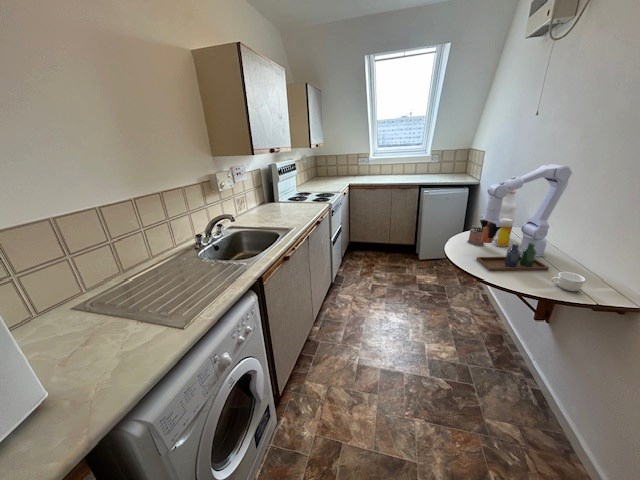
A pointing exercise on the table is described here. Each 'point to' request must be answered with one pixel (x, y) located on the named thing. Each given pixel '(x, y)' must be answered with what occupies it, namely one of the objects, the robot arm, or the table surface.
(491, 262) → the tray
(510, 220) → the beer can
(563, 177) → the robot arm
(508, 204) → the fruit juice
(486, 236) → the terracotta bottle
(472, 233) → the lighter
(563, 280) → the teacup
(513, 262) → the slate-blue bottle
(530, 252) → the green bottle
